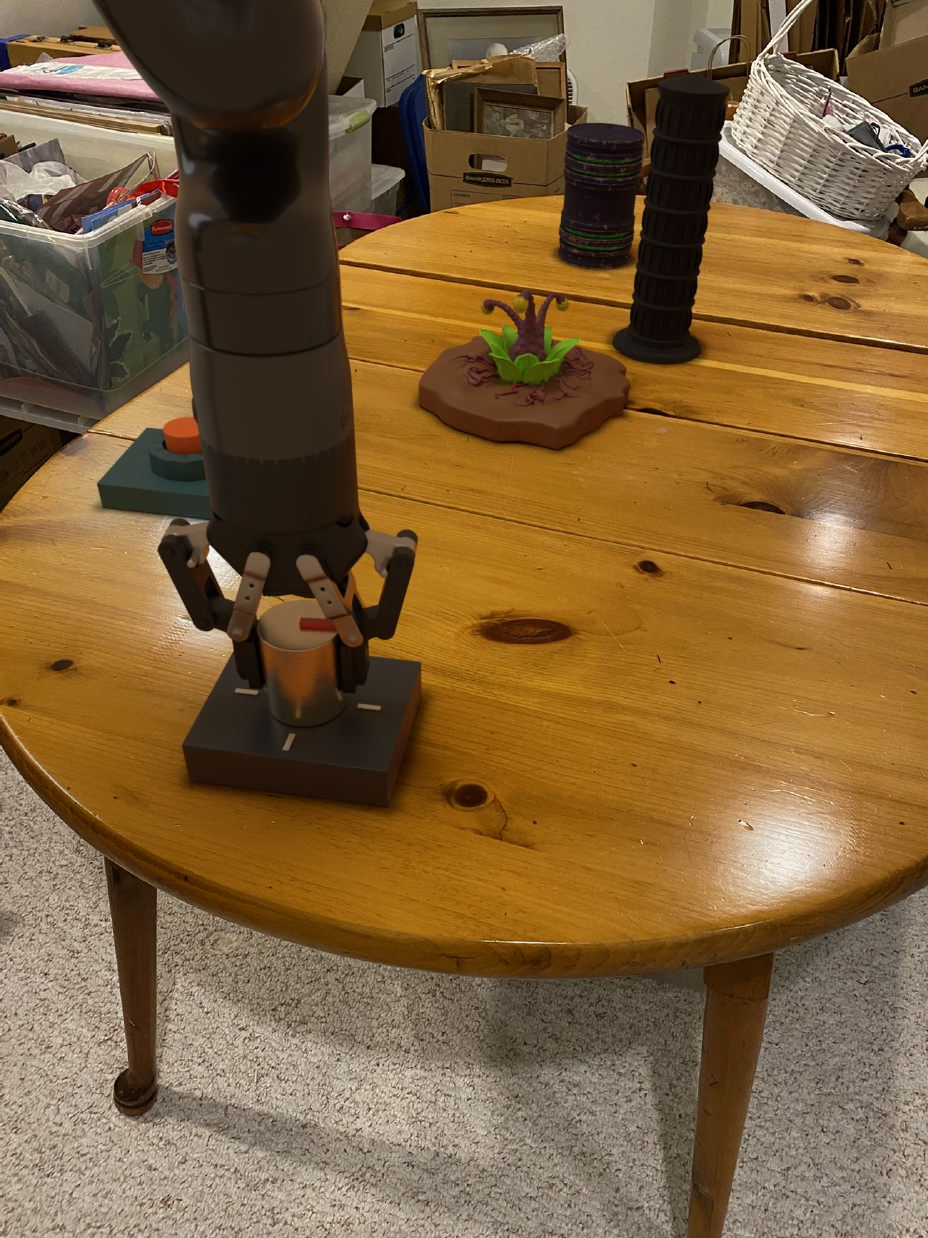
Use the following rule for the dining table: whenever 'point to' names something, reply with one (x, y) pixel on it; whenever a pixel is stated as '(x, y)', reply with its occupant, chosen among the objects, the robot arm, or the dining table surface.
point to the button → (182, 436)
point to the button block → (156, 480)
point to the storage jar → (600, 194)
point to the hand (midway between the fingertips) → (305, 681)
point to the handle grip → (674, 220)
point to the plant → (524, 381)
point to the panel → (308, 738)
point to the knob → (301, 664)
